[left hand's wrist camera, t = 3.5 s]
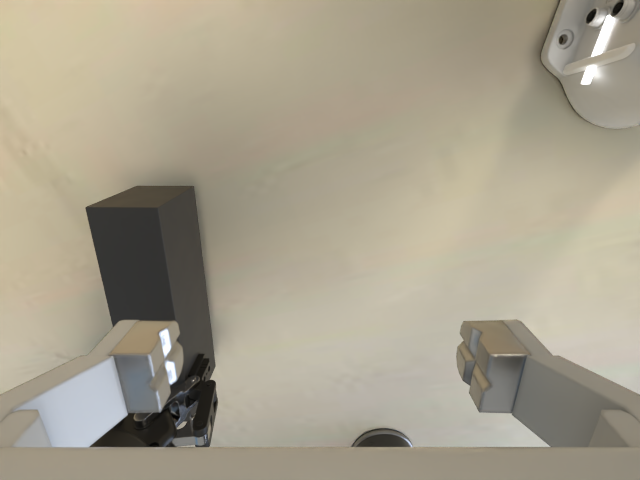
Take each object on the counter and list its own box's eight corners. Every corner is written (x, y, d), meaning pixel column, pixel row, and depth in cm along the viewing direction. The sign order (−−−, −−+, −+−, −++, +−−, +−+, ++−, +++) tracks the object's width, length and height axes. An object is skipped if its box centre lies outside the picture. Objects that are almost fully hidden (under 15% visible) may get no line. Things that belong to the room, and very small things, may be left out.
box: (136, 185, 38) (85, 207, 30) (193, 186, 37) (157, 207, 29) (168, 365, 46) (134, 420, 37) (215, 365, 45) (191, 421, 37)
